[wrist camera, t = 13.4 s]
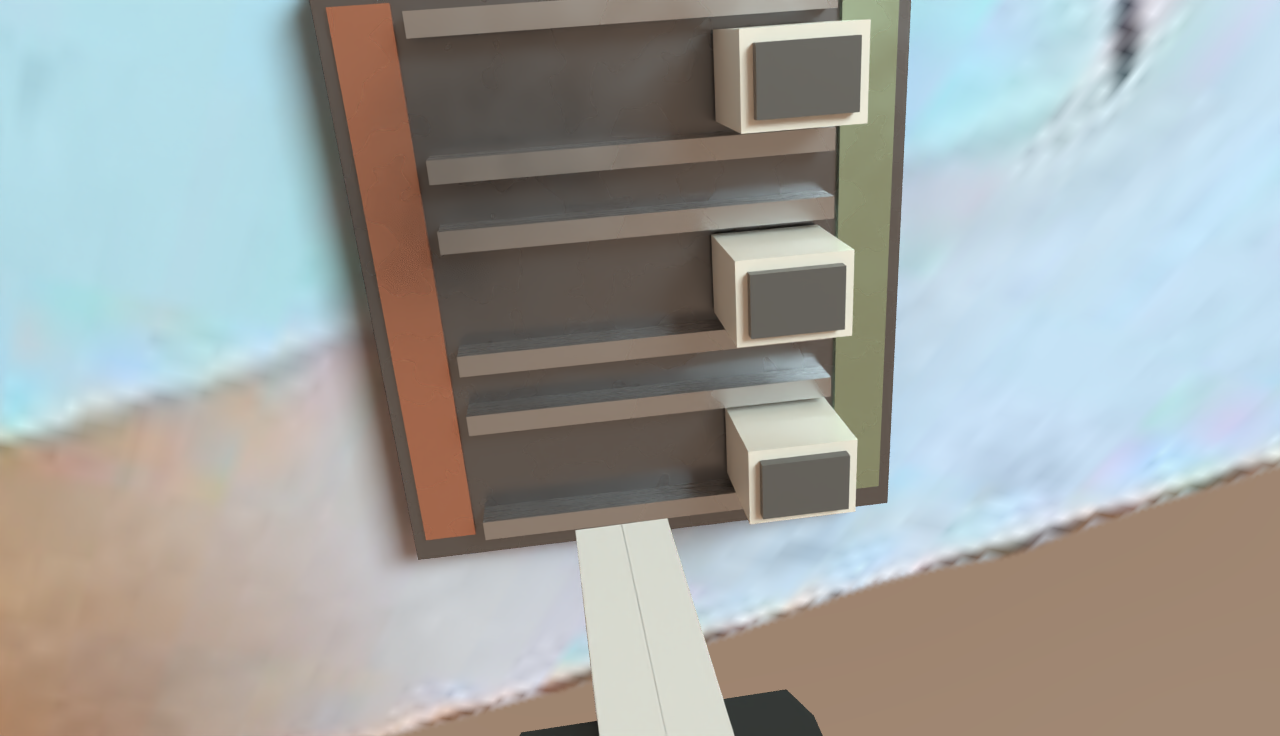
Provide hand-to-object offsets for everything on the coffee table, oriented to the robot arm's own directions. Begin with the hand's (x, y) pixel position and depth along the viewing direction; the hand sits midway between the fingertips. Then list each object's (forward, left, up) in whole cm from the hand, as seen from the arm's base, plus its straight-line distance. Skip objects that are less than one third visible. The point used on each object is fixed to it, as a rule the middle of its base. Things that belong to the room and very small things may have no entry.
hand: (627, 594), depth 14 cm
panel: (+2, 0, -21) cm, 21 cm away
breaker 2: (+7, 0, -19) cm, 20 cm away
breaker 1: (+7, +7, -19) cm, 21 cm away
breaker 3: (+7, -7, -19) cm, 21 cm away
